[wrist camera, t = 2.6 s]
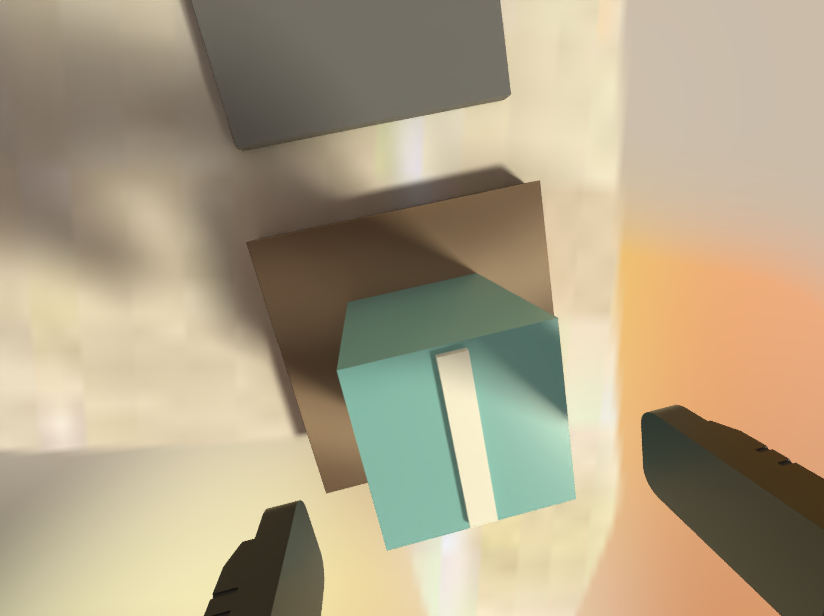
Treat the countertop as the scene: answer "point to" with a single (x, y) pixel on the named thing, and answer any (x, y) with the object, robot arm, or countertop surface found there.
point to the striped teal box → (455, 406)
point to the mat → (348, 62)
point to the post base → (386, 289)
